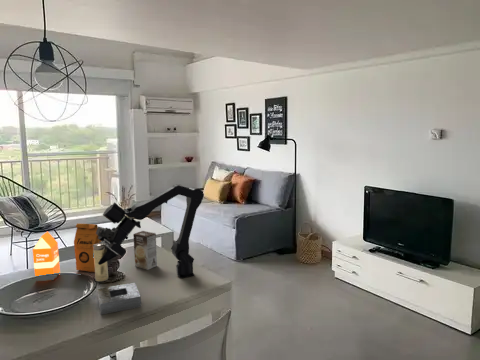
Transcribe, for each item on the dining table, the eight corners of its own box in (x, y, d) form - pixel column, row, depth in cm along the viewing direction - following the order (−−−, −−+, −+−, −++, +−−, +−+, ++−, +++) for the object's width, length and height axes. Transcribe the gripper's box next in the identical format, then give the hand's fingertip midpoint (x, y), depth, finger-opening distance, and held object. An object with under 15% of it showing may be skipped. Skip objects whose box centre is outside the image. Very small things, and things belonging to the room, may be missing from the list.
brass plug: (109, 276, 155) (107, 242, 153) (106, 280, 150) (104, 246, 148) (97, 276, 154) (94, 243, 152) (94, 281, 149) (91, 247, 147)
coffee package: (95, 274, 171) (92, 227, 168) (72, 272, 175) (69, 225, 172) (109, 267, 181) (106, 221, 178) (87, 264, 184) (84, 220, 182)
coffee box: (134, 266, 181) (132, 233, 179) (144, 262, 186) (142, 230, 184) (148, 270, 176) (146, 236, 174) (158, 265, 181) (156, 232, 179)
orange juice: (35, 282, 164) (31, 237, 161) (42, 274, 173) (38, 231, 170) (54, 280, 165) (50, 236, 163) (60, 273, 174) (57, 230, 171)
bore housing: (135, 292, 152) (134, 282, 151) (141, 306, 139) (140, 296, 139) (98, 298, 146) (97, 288, 146) (100, 314, 134) (99, 303, 133)
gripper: (101, 215, 159) (75, 245, 154) (115, 223, 144) (86, 257, 139) (121, 230, 164) (96, 260, 159) (136, 239, 149) (110, 273, 144)
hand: (97, 262), depth 150 cm, fingers closed on brass plug, 5 cm apart
